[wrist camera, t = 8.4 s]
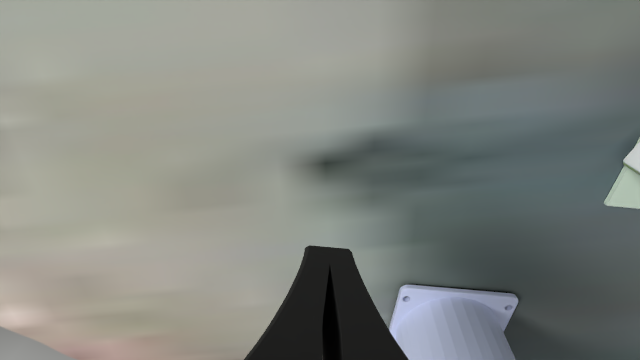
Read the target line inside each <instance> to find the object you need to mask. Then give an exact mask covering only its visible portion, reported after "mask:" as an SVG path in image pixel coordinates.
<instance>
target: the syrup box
mask: <svg viewBox="0 0 640 360" xmlns="http://www.w3.org/2000/svg"><path fill="white" fill-rule="evenodd" d="M623 164H624V165H625V166H626V167H628V168H629V169H631V170H633V171H634V172H636V173H637V174H638V175H640V142H639V143H638V144H637V145H636V146H635V147H634V148H633V150H632V151H631V152H630V153H629V154H628V155H627V156H626V157H625V159H624V160H623Z"/></svg>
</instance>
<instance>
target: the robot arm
mask: <svg viewBox="0 0 640 360" xmlns="http://www.w3.org/2000/svg"><path fill="white" fill-rule="evenodd" d="M406 296H408V297H406ZM517 304H518V298H517V297H516V295H515V294H512V293H500V292H489V291H477V290H466V289H454V288H443V287H431V286H419V285H404V286H402V287H401V288H400V290H399V294H398V298H397V301H396V305H395V309H394V312H393V316H392V320H391V323H390V327H389V329H388V328H387V326H386V324H385V323H384V321H383V319H382V318H381V316H380V314H379V312H378V310H377V309H376V307H375V305H374V303H373V301H372V299H371V297H370V295H369V293H368V291H367V289H366V287H365V285H364V283H363V281H362V278H361V276H360V274H359V271H358V269H357V266H356V264H355V261H354V258H353V255H352V252H351V251H350V250H349V249H343V248H331V247H320V246H308V247H306V248H305V252H304V256H303V260H302V263H301V266H300V268H299V271H298V273H297V276H296V278H295V280H294V282H293V284H292V286H291V288H290V290H289V292H288V294H287V296H286V298H285V300H284V301H283V303H282V305H281V306H280V308H279V310H278V312H277V313H276V315H275V317H274V318H273V320H272V321H271V323H270V325H269V326H268V328H267V329H266V331H265V332H264V333H263V335H262V336H261V338H260V339H259V341H258V342H257V343H256V345H255V346H254V347H253V349H252V350H251V351H250V352H249V354H248V355H247V356H246V358H245V359H244V360H322V356H323V360H516V359H515V357H514V355H513V352H512V350H511V348H510V346H509V344H508V341H507V339H506V337H505V335H504V333H503V332H504V330H505V328H506V326H507V324H508V322H509V320H510V318H511V316H512V314H513V312H514V310H515V308H516V306H517ZM507 305H508V306H507Z"/></svg>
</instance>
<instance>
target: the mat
mask: <svg viewBox="0 0 640 360" xmlns="http://www.w3.org/2000/svg"><path fill="white" fill-rule="evenodd" d="M639 142H640V138H639V140H638V142H637V143H636V145H637V144H638V143H639ZM636 145H635V146H636ZM604 203H605V204H606V205H607V206H616V207H626V208H637V209H640V175H638V174H637V173H636V172H634V171H633V170H631V169H629V168H628V167H626V166H625V165H624V167H623V169H622V171H621V172H620V174H619V176H618V178H617V180H616V181H615V183H614V185H613V187H612V189H611V191H610V192H609V194H608V196H607V198H606V200H605V201H604Z"/></svg>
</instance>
